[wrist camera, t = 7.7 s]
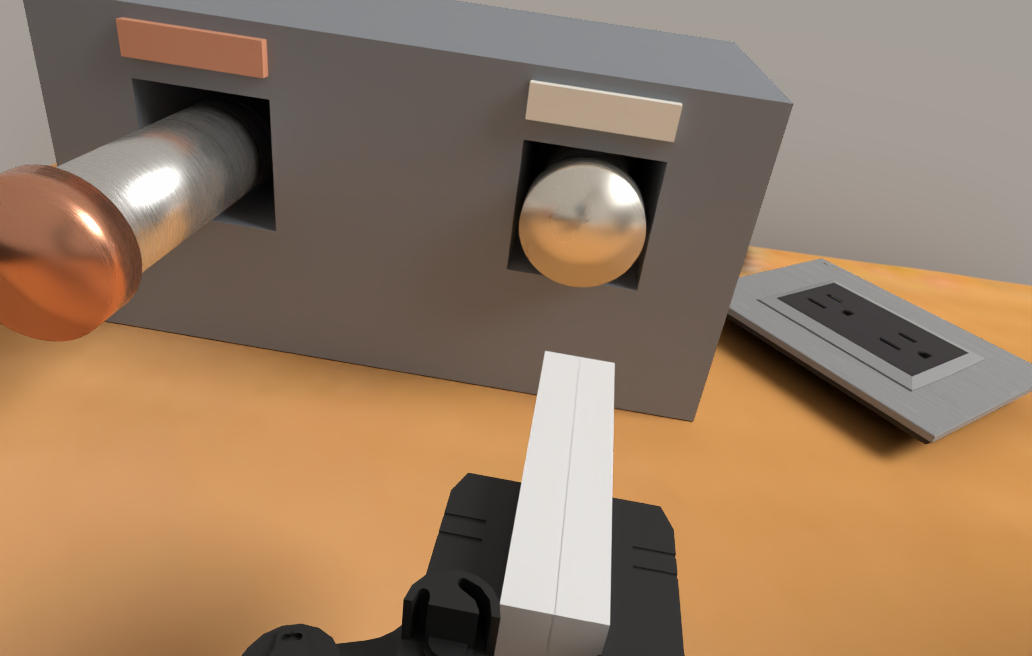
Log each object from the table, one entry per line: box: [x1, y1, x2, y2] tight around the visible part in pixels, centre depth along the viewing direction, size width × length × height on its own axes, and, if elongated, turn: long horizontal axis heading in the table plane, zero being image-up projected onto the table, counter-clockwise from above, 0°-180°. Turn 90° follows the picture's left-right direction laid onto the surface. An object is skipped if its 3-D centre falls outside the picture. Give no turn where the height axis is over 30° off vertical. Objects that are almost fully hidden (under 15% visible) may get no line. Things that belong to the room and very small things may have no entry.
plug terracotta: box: [0, 96, 273, 341], centre depth 23 cm, size 12×4×4 cm, turn 173°
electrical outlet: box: [726, 258, 1032, 444], centre depth 36 cm, size 13×10×2 cm
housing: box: [23, 0, 793, 421], centre depth 32 cm, size 13×26×13 cm, turn 83°
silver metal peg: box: [519, 144, 646, 287], centre depth 30 cm, size 12×4×4 cm, turn 173°
